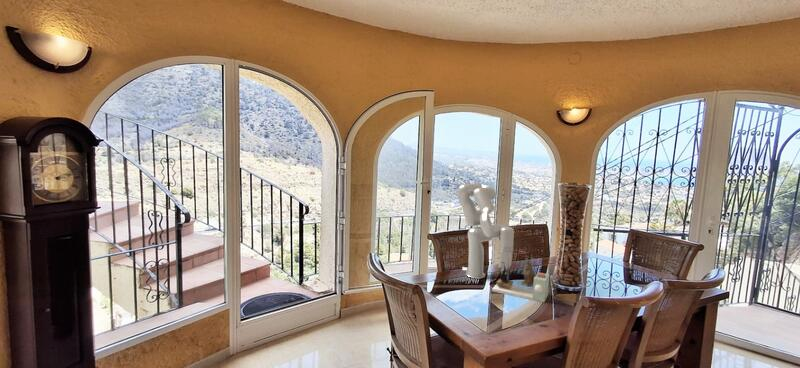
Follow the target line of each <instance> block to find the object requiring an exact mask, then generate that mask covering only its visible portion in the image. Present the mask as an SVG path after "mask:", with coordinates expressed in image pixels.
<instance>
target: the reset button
mask: <svg viewBox="0 0 800 368" xmlns="http://www.w3.org/2000/svg"><path fill="white" fill-rule="evenodd" d="M545 274H546V273H544V272H539V275H538V277H541V278H545Z"/></svg>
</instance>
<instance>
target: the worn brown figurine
mask: <svg viewBox="0 0 800 368" xmlns="http://www.w3.org/2000/svg"><path fill="white" fill-rule="evenodd" d="M530 262H531V261H530V259H529V258H525V267H524V268H523V271H522V272H523V277H524V280H523V281H522V282H521V285H522V286H523V287H526V288H529V287H531V286H533V282H534V277H535V276H536V274H535V272H534V269H533V266H532V264H531V263H530Z"/></svg>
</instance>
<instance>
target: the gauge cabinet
mask: <svg viewBox="0 0 800 368" xmlns="http://www.w3.org/2000/svg"><path fill="white" fill-rule="evenodd" d="M539 273H540V272H537V273H536V274H535V277H534V282H533V285H532V287H533V288H532V289H533V301H536V302H542V303H545V301H546V300H547V297H548V295H549V287H550V285H549V283H550V282H549V281H550V274H549V273H545V278H541V277H538V275H539Z"/></svg>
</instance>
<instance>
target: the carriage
mask: <svg viewBox="0 0 800 368" xmlns="http://www.w3.org/2000/svg"><path fill="white" fill-rule="evenodd" d="M504 271H505V270H504ZM506 274H507V281H502V280H501V278H499V279H498V280H497V281H496V284H498V287H503V288H508V289H510V286H511V285H513V284H514V281H512V280H510V279H509V278H510V269H509V270H508V269H507V273H506ZM496 284H495V285H496Z"/></svg>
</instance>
